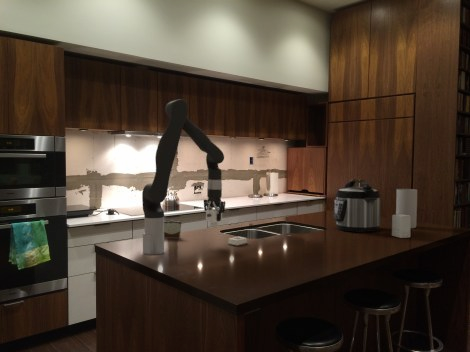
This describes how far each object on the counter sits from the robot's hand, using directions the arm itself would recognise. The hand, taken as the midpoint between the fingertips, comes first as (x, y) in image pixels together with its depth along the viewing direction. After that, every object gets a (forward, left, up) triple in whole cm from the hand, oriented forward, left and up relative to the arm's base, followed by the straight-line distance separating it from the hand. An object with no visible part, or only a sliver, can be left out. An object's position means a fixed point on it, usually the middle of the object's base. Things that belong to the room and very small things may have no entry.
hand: (214, 220), depth 204 cm
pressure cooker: (+92, -38, -13) cm, 101 cm away
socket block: (+9, -9, -13) cm, 18 cm away
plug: (0, 0, -3) cm, 3 cm away
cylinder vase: (+123, -59, -13) cm, 137 cm away
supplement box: (+88, -67, -13) cm, 112 cm away
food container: (-2, +31, -13) cm, 34 cm away
